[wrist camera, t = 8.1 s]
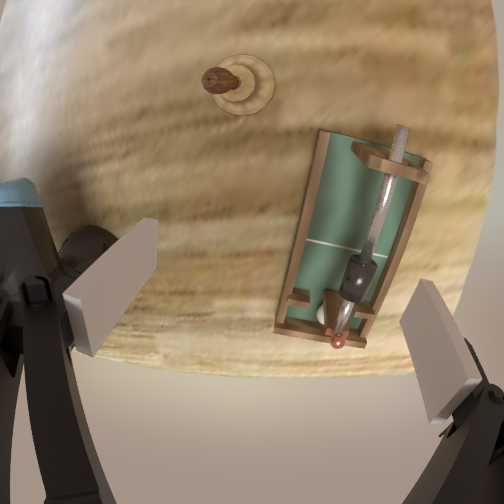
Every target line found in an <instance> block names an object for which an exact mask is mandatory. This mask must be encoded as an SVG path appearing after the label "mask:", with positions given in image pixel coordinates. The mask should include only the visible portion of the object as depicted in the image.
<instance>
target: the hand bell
mask: <svg viewBox="0 0 504 504" xmlns="http://www.w3.org/2000/svg"><path fill="white" fill-rule="evenodd" d="M202 84H203V86H204V88H205V89H206V90H207V91H208V92H210V93H212V96H213V98H214V100H215V102H216V103H217V104H218V105H219V106H220V107H221V108H222V109H223V110H225V111H227V112H229V113H231V114H234V115H250V114H254V113H256V112H258V111H260V110H261V109H263V108H264V107H265V106H266V105H267V104H268V103H269V102H270V100H271V99H272V97H273V94H274V91H275V78H274V75H273V72H272V70H271V69H270V67H269V66H268V65H267V64H266V63H265V62H264V61H263V60H261V59H259V58H257V57H255V56H252V55H246V54H241V55H235V56H232V57H229V58H227V59H225V60H224V61H223V62H221V63H220V64H219V65H218V66H217V67H215V68H211V69H209V70H208V71H206V73H205V74H204V75H203V76H202Z"/></svg>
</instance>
